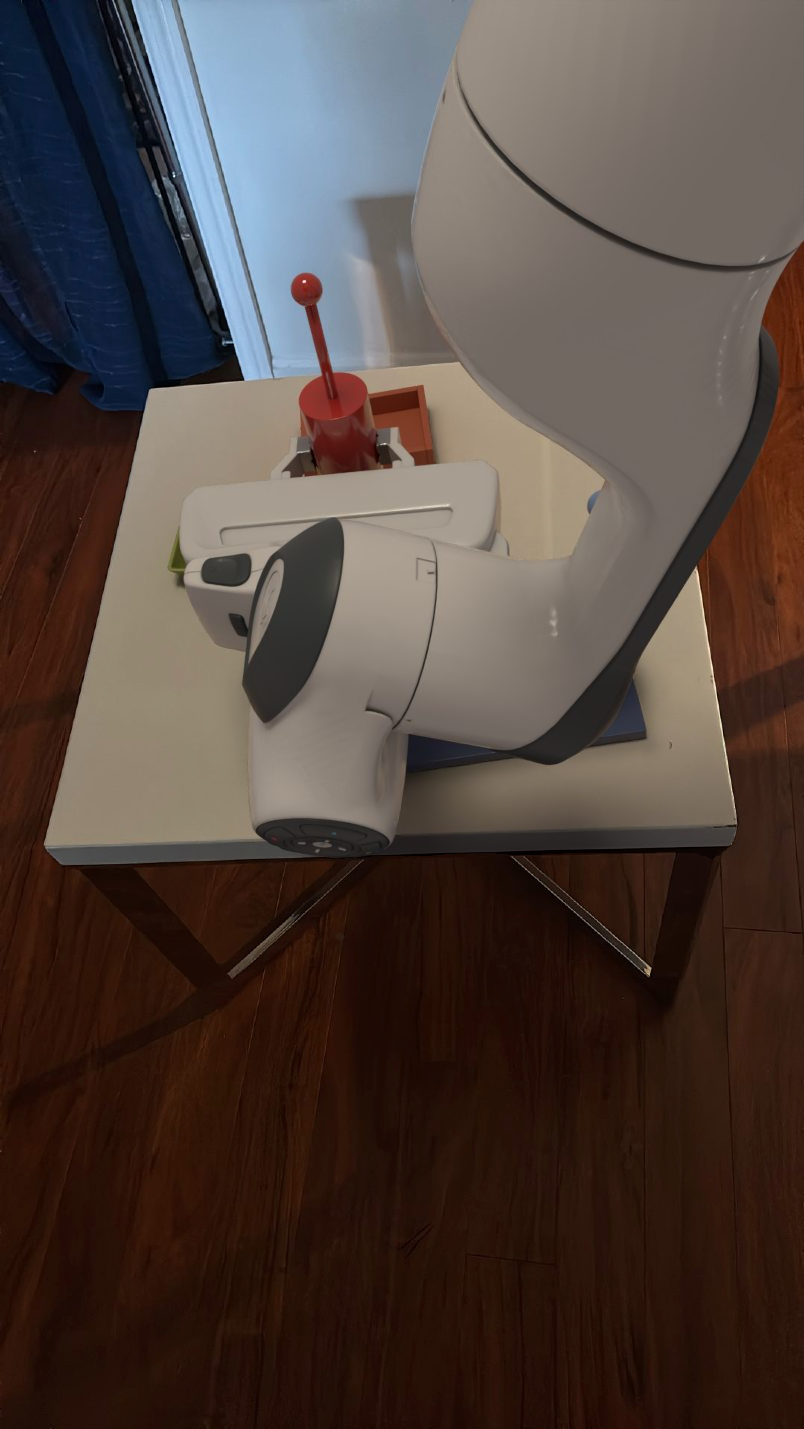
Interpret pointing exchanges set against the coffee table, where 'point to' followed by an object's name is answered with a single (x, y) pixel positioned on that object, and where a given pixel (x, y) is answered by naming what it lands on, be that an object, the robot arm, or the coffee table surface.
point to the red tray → (401, 421)
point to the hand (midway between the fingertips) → (345, 439)
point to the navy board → (449, 753)
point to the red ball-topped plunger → (334, 401)
